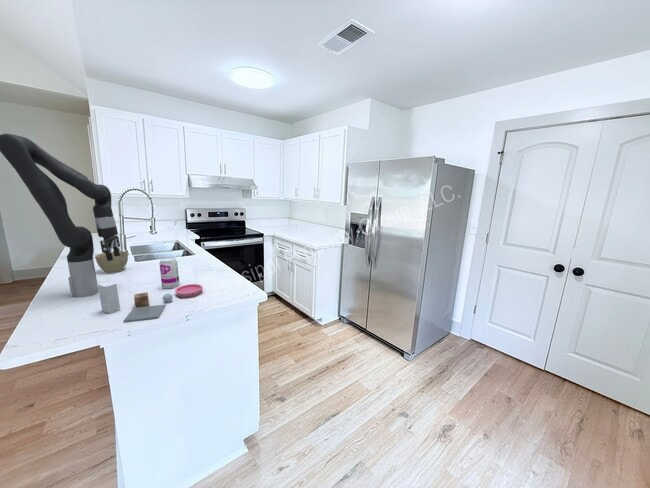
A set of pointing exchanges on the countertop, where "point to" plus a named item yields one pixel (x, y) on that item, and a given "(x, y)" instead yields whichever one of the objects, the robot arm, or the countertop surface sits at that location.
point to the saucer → (189, 290)
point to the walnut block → (141, 300)
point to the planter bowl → (112, 262)
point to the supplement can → (169, 272)
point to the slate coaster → (145, 313)
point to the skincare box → (109, 297)
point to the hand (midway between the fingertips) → (114, 258)
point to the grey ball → (167, 297)
